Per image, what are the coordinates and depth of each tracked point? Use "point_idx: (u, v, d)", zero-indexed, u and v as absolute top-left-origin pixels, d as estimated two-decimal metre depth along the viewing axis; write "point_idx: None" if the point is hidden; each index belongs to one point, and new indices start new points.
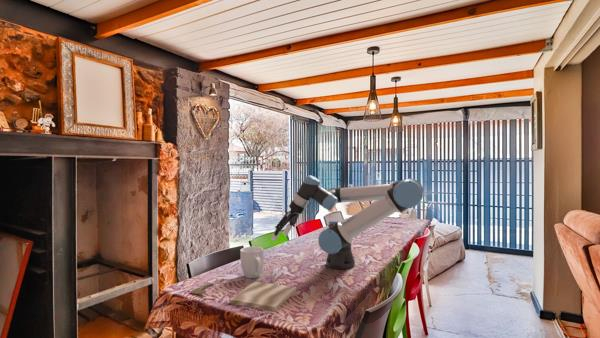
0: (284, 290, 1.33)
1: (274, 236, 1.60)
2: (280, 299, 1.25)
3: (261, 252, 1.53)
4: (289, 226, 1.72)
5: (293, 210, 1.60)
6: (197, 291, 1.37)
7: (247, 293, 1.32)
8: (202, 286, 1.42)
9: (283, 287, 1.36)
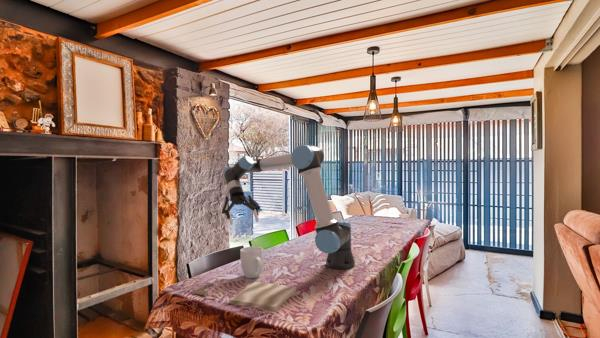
0: (284, 290, 1.33)
1: (230, 220, 1.62)
2: (280, 299, 1.25)
3: (261, 252, 1.53)
4: (254, 211, 1.70)
5: (230, 195, 1.73)
6: (198, 291, 1.36)
7: (247, 293, 1.32)
8: (203, 286, 1.42)
9: (283, 287, 1.36)
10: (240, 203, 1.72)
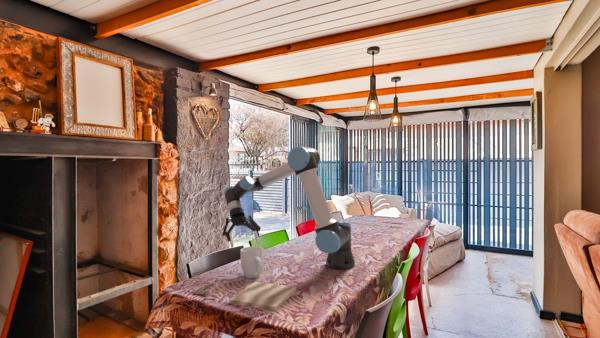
0: (284, 290, 1.33)
1: (230, 242, 1.61)
2: (280, 299, 1.25)
3: (261, 252, 1.53)
4: (254, 233, 1.70)
5: (231, 216, 1.72)
6: (199, 291, 1.36)
7: (247, 293, 1.32)
8: (204, 286, 1.42)
9: (283, 287, 1.36)
10: (241, 224, 1.71)
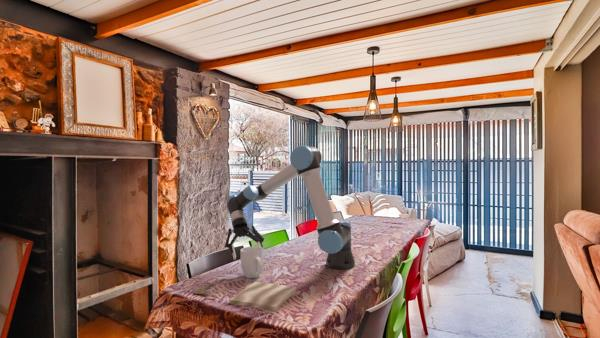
0: (284, 290, 1.33)
1: (233, 254, 1.56)
2: (280, 299, 1.25)
3: (261, 252, 1.53)
4: (258, 244, 1.64)
5: (233, 226, 1.67)
6: (201, 291, 1.36)
7: (247, 293, 1.32)
8: (204, 286, 1.42)
9: (283, 287, 1.36)
10: (243, 235, 1.66)
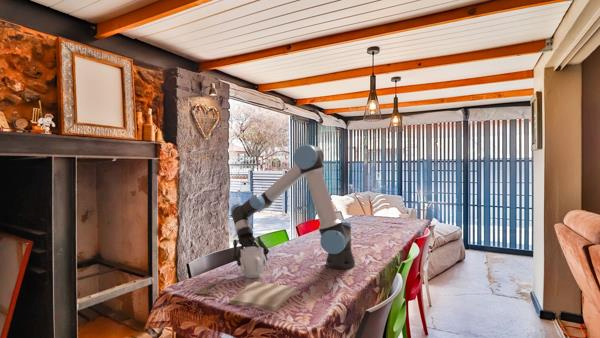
0: (284, 290, 1.33)
1: (241, 267, 1.51)
2: (280, 299, 1.25)
3: (261, 252, 1.53)
4: None
5: (238, 236, 1.62)
6: (203, 291, 1.36)
7: (247, 293, 1.32)
8: (206, 286, 1.41)
9: (283, 287, 1.36)
10: (249, 245, 1.61)
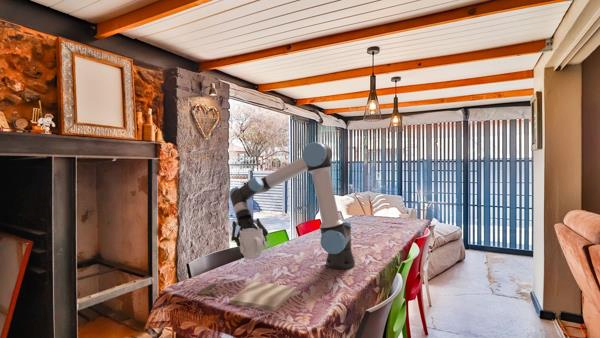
0: (284, 290, 1.33)
1: (240, 247, 1.51)
2: (280, 299, 1.25)
3: (260, 233, 1.53)
4: None
5: (237, 218, 1.61)
6: (204, 291, 1.36)
7: (247, 293, 1.32)
8: (207, 286, 1.41)
9: (283, 287, 1.36)
10: (248, 227, 1.60)
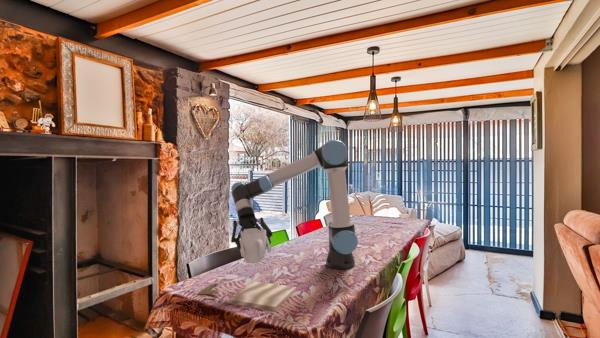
0: (284, 290, 1.33)
1: (241, 250, 1.34)
2: (280, 299, 1.25)
3: (263, 234, 1.36)
4: None
5: (238, 217, 1.45)
6: (206, 291, 1.36)
7: (247, 293, 1.32)
8: (208, 287, 1.41)
9: (283, 287, 1.36)
10: (250, 227, 1.44)
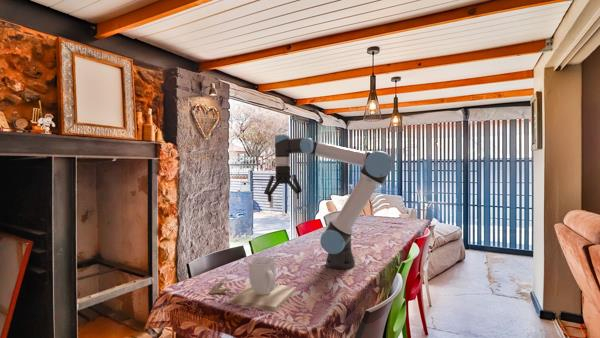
0: (284, 290, 1.33)
1: (270, 204, 1.61)
2: (280, 299, 1.25)
3: (273, 264, 1.30)
4: (294, 195, 1.67)
5: (276, 172, 1.62)
6: (217, 291, 1.37)
7: (247, 293, 1.32)
8: (215, 286, 1.42)
9: (283, 287, 1.36)
10: None
